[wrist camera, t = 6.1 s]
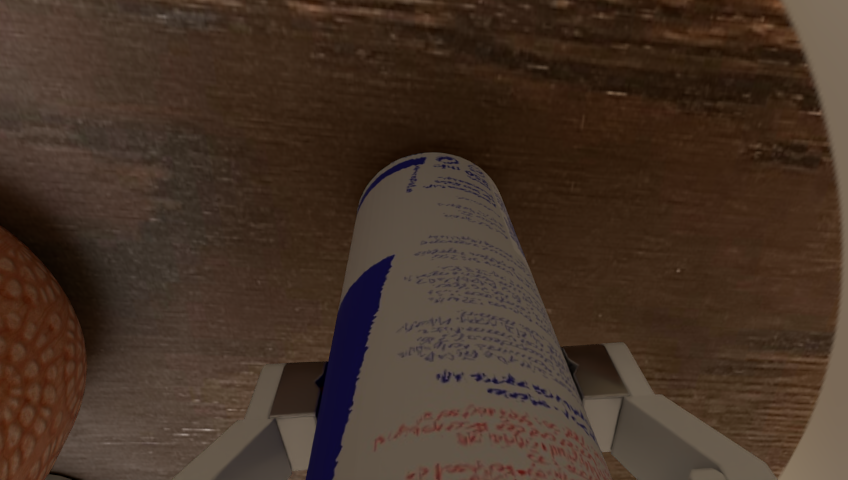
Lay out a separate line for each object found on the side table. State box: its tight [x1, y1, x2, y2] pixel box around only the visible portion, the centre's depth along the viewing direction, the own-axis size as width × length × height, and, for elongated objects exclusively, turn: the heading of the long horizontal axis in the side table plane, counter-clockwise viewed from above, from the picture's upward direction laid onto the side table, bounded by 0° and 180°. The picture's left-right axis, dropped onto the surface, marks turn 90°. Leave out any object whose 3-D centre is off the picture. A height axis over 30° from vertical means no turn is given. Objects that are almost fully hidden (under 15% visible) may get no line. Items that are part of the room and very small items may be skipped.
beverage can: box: [306, 152, 612, 480], centre depth 12 cm, size 6×6×15 cm
